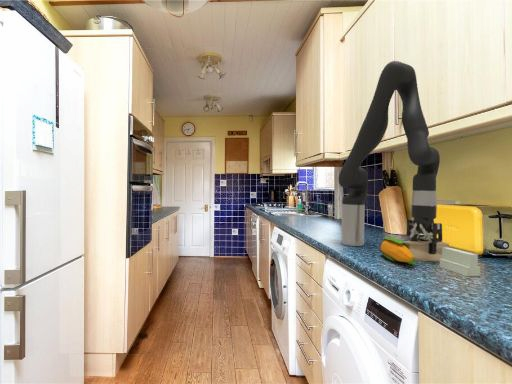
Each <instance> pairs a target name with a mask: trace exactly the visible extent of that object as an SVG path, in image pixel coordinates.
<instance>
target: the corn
mask: <svg viewBox="0 0 512 384" xmlns="http://www.w3.org/2000/svg"><path fill="white" fill-rule="evenodd" d="M404 242H405V241H404V240H401V239H398V238H394V237H385V238H383V241H382V243H381V244H380V252H381V254H382V255H384V257H385V258H387V259H388V260H389V261H393V263H396V262H401V263H402V262H403V263H405V264H408V265H416V264H417V261H416V260H415V259H414V258H413V254H412V253H411V252H410V250H409V249H408V246H407V245H406V244H405V243H404Z"/></svg>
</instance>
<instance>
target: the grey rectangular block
mask: <svg viewBox="0 0 512 384" xmlns="http://www.w3.org/2000/svg"><path fill="white" fill-rule="evenodd" d="M478 261H479V255H478V254H477V253H473V252H469V251H465V250H462V249H461V250H460V249H457V248H452V247H450V246H449V247H448V248H442V259H440V261H439V267H440V268H441V269H445V270H447V271H450V272H453V273H456V274H459V275H463V276H465V277H481V266H478V263H479V262H478Z"/></svg>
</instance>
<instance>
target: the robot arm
mask: <svg viewBox="0 0 512 384" xmlns="http://www.w3.org/2000/svg"><path fill="white" fill-rule="evenodd" d="M383 67H384V68H383V69H382V71H381V73H380V75H379V77H378V81H377V85H376V86H375V87H376V88H375V91H374V93H373V97H372V100H371V103H370V105H369V108H368V110H367V113H366V115H365V118H364V120H363V122H362V124H361V127H360V129H359V131H358V134H357V136H356V139H355V141H354V144H353V146H352V148H351V150H350V152H349V154H348V156H347V157H346V160H345V162H344V163H343V165H342V167H341V169H340V171H339V174H338V184H339V186H340V187H341V188H343V189H349V192H348V194H347V195H345V196H344V197H342V200H341V201H342V202H341V233H340V234H341V236H340V239H341V244H342V245H344V246H354V247H361V246H364V245H365V210H366V207H365V204H366V199H367V197H368V187H369V186H368V184H369V176H368V172H367V170H366V169H364V168H363V167H361V165H362V163H363V161H364V160H365V159H366V158H367V157H368V156H369V155H370V154H371V153H372V152H373V151H374V150H375V149H376V148H377V147H378V146H379V145H380V143H381V141H382V140H383V138H384V136H385V134H386V131H387V129H388V125H389V107H390V102H391V100H392V97H393V95H394V93H395V91H397V93H398V95H399V97H400V100H401V104H402V107H401V108H402V111H401V123H402V127H403V131H404V134H405V137H406V139H407V141H406V142H407V144H406V145H407V152H408V153H407V154H408V158H409V159H410V162H412V164H413V165H415V166H417V171H416V172H417V173H416V174H414V175H413V178H412V193H411V204H410V205H411V210H410V215H411V217H412V219H410V218H408V219H407V220H406V221H407V222H406V236H409V238H410V242H419V237H420V235H424V237H426V239H427V242H430V243H429V245H428V253H429V254H436V248H437V243H438V242H443V224H442V222H435V221H434V220H435V219H436V218H437V209H438V208H437V207H438V205H437V204H438V203H437V201H438V200H437V199H438V198H437V176H438V171H439V167H440V162H441V161H440V160H441V158H440V157H441V155H440V152H439V151H438V149H437V148H435V147H434V146H430V144H429V141H428V137H429V136H430V132H429V131H430V130H429V128H428V124H427V121H426V119H425V116H424V112H423V110H422V106H421V100H420V95H419V94H420V93H419V89H418V81H417V80H418V79H417V74H416V70H415V68H414V67H413V66H411V65H410V64H408V63H404V62H401V61H398V60H392V61H390V62H388V63H387V64H386V65H385V66H383Z"/></svg>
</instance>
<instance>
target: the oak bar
mask: <svg viewBox="0 0 512 384" xmlns="http://www.w3.org/2000/svg"><path fill="white" fill-rule="evenodd" d="M403 242H404V243H405V244H406V245H407V246H408V249H409V250H410V252H411V253H412V254H413V258H414V259H415V260H416V262H440V259H442V248H448V247H449V248H450V243H448V242H444V241H442V242H438V243H437V248H436V254H429V253H428V245H429V243H430V242H429V241H418V242H411V241H403Z"/></svg>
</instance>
